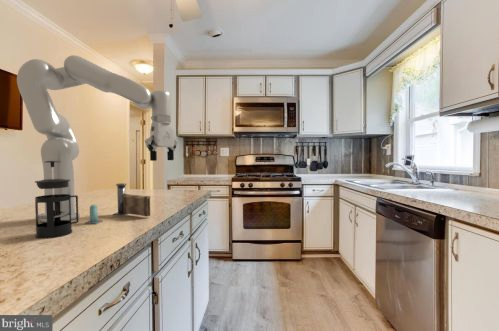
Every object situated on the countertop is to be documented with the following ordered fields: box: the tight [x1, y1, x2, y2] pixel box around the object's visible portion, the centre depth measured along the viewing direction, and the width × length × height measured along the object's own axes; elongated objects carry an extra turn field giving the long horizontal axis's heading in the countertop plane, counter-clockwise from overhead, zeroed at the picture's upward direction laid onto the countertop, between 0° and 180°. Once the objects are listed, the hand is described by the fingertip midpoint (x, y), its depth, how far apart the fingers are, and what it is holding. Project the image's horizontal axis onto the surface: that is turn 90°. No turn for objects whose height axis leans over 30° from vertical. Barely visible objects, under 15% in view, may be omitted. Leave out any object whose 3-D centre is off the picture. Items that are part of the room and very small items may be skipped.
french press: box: [34, 161, 80, 240], centre depth 84 cm, size 12×9×23 cm
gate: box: [123, 193, 151, 217], centre depth 109 cm, size 14×2×8 cm, turn 62°
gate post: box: [112, 182, 128, 216], centre depth 113 cm, size 5×5×13 cm
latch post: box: [84, 204, 103, 225], centre depth 98 cm, size 4×4×7 cm
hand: (162, 160), depth 116 cm, fingers open, 9 cm apart
